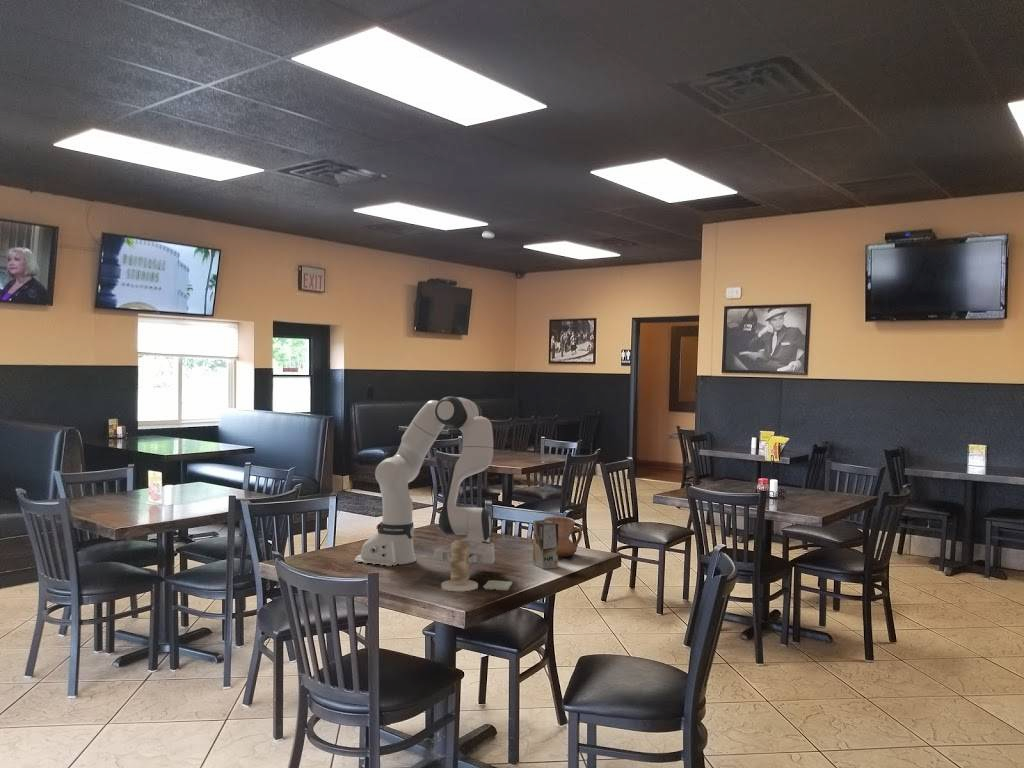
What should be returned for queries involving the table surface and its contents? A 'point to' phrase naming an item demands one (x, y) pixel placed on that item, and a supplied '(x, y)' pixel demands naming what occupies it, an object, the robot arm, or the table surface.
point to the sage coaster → (497, 585)
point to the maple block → (460, 560)
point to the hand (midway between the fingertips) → (459, 560)
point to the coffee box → (545, 544)
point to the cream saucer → (459, 585)
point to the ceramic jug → (566, 535)
